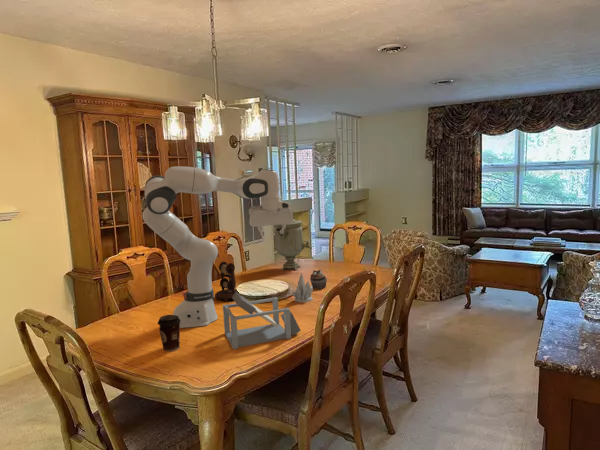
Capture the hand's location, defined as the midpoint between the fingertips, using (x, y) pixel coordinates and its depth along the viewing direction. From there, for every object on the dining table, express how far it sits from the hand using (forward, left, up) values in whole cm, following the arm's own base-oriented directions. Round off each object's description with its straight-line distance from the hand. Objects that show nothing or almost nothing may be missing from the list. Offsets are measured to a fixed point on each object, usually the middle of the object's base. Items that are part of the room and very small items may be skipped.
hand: (272, 234), depth 192 cm
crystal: (+21, +18, -39) cm, 48 cm away
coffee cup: (-49, -16, -39) cm, 65 cm away
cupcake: (+37, +35, -39) cm, 64 cm away
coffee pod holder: (-15, +40, -39) cm, 58 cm away
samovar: (+39, +84, -39) cm, 101 cm away
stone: (-3, -24, -30) cm, 38 cm away
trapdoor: (-16, -19, -29) cm, 38 cm away
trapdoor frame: (-15, -19, -39) cm, 46 cm away
